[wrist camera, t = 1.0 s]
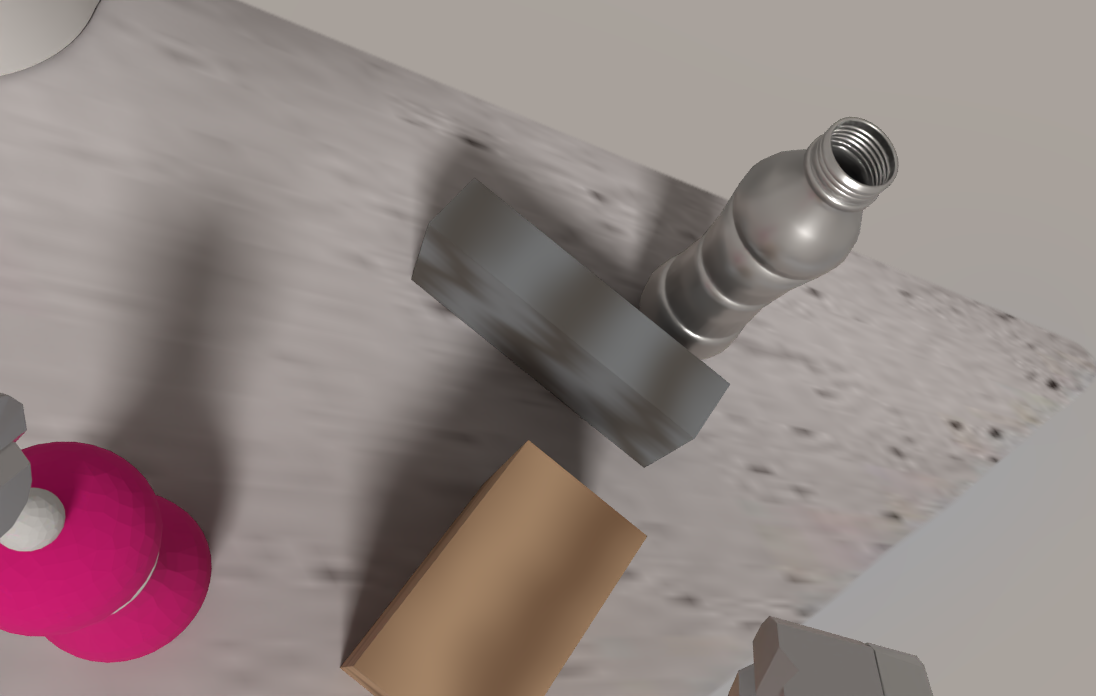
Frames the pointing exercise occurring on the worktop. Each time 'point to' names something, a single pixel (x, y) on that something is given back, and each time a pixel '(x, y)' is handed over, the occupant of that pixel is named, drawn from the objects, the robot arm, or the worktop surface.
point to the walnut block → (501, 589)
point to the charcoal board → (565, 326)
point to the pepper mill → (99, 558)
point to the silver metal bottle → (772, 236)
